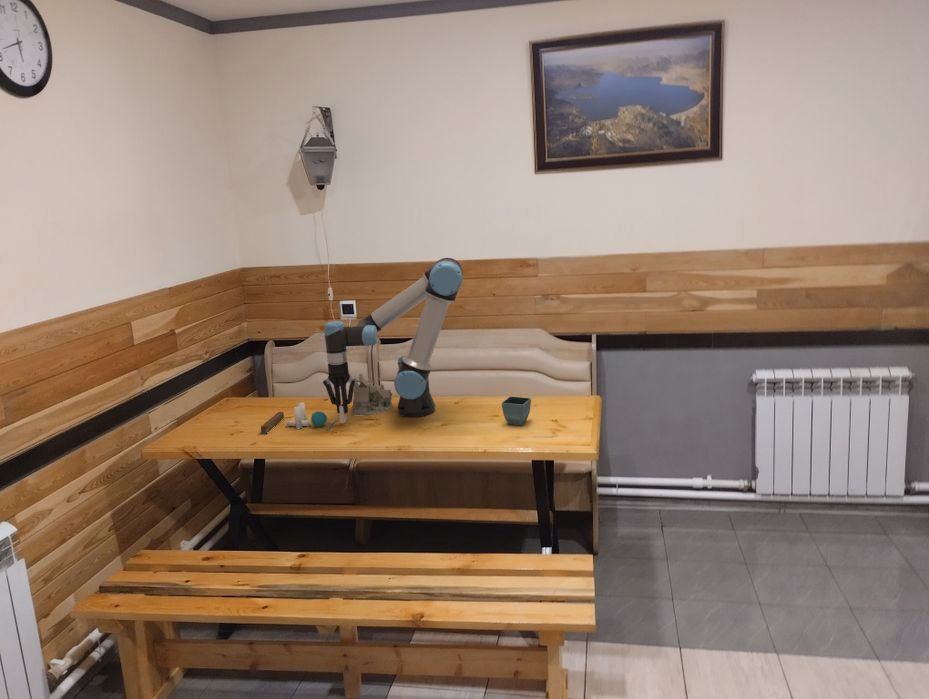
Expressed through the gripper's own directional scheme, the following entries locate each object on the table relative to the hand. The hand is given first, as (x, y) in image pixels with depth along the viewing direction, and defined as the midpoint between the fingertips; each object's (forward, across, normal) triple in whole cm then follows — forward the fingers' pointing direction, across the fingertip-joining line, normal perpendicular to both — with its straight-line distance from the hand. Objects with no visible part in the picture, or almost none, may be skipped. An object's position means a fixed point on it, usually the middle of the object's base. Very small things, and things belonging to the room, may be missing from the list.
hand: (343, 421), depth 300 cm
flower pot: (+2, -67, -2) cm, 67 cm away
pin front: (+1, +14, 0) cm, 14 cm away
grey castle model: (+2, -6, -20) cm, 21 cm away
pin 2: (+2, +17, -2) cm, 18 cm away
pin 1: (+2, +17, +2) cm, 18 cm away
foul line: (+2, +5, 0) cm, 5 cm away
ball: (-1, +10, 0) cm, 10 cm away
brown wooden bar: (+2, +29, 0) cm, 29 cm away
